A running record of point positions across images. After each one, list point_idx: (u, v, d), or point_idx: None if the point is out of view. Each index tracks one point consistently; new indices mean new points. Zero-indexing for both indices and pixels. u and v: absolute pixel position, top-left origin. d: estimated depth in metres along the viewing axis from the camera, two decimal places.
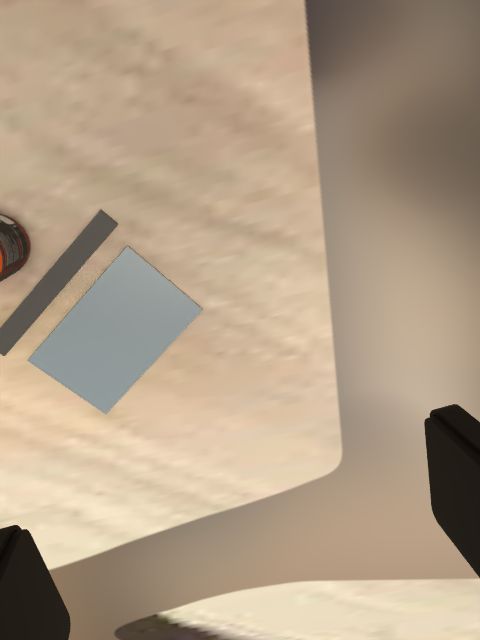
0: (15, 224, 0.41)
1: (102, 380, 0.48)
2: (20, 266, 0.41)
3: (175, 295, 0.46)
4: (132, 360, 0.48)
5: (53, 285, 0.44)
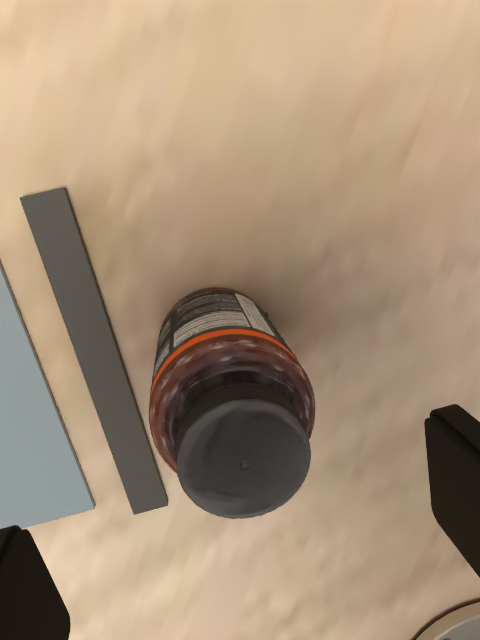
0: None
1: None
2: None
3: None
4: None
5: (100, 374, 0.23)
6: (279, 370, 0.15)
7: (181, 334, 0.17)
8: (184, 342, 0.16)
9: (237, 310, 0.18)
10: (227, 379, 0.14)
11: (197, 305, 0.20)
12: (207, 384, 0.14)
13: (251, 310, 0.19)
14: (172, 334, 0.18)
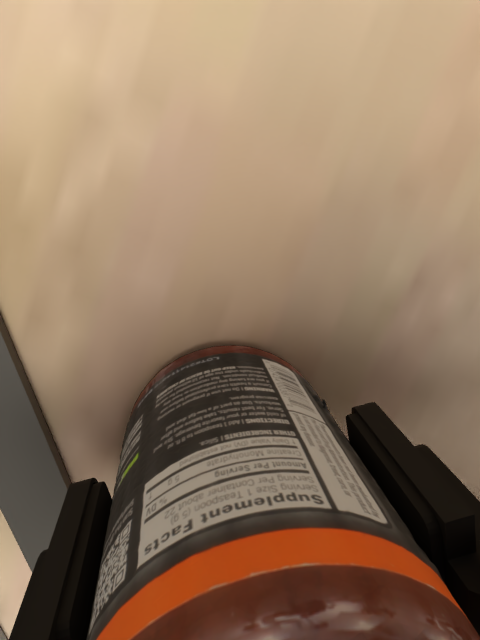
0: None
1: None
2: None
3: None
4: None
5: (24, 494, 0.13)
6: None
7: (159, 509, 0.07)
8: (163, 562, 0.06)
9: (282, 425, 0.08)
10: None
11: (195, 399, 0.10)
12: None
13: (305, 414, 0.09)
14: (141, 486, 0.08)
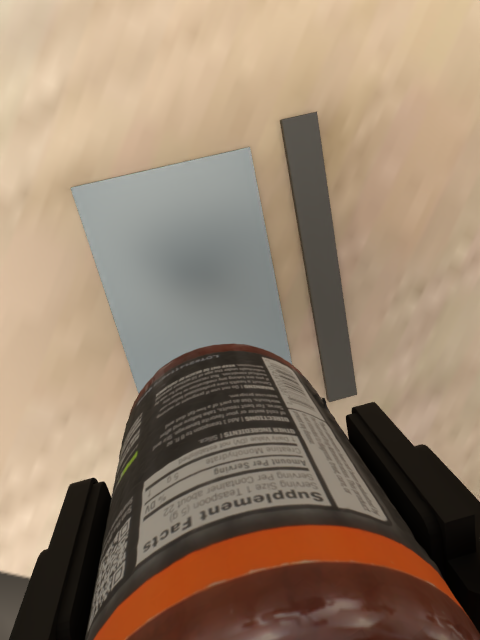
0: None
1: (137, 230, 0.25)
2: None
3: None
4: (140, 298, 0.26)
5: (321, 276, 0.27)
6: None
7: (158, 507, 0.07)
8: (161, 559, 0.06)
9: (281, 423, 0.08)
10: None
11: (194, 397, 0.10)
12: None
13: (305, 411, 0.09)
14: (140, 484, 0.08)
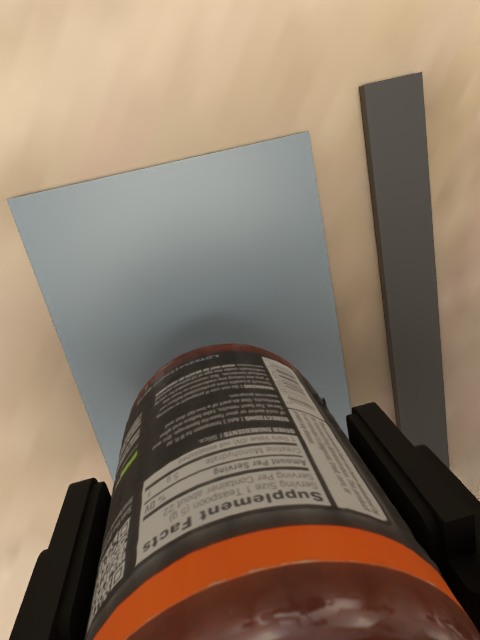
0: None
1: (122, 269, 0.15)
2: None
3: None
4: (127, 374, 0.16)
5: (411, 336, 0.17)
6: None
7: (157, 506, 0.07)
8: (161, 559, 0.06)
9: (281, 423, 0.08)
10: None
11: (194, 397, 0.10)
12: None
13: (305, 411, 0.09)
14: (139, 484, 0.08)
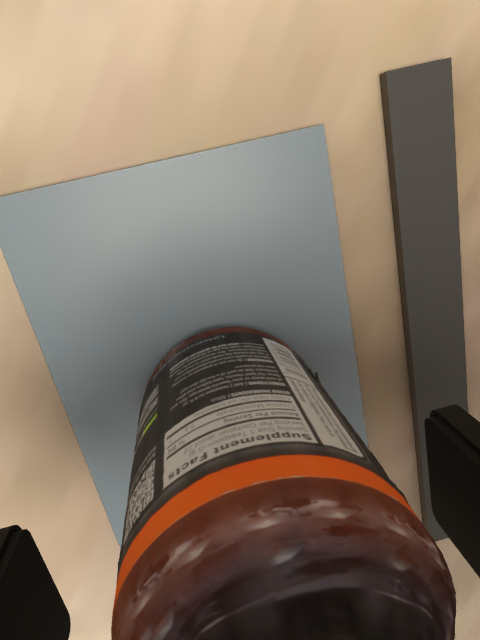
0: None
1: (113, 278, 0.14)
2: None
3: None
4: (120, 395, 0.15)
5: (433, 351, 0.16)
6: (401, 568, 0.06)
7: (178, 448, 0.09)
8: (184, 482, 0.08)
9: (279, 387, 0.10)
10: (291, 620, 0.06)
11: (204, 368, 0.11)
12: (243, 633, 0.06)
13: (299, 380, 0.11)
14: (161, 435, 0.10)
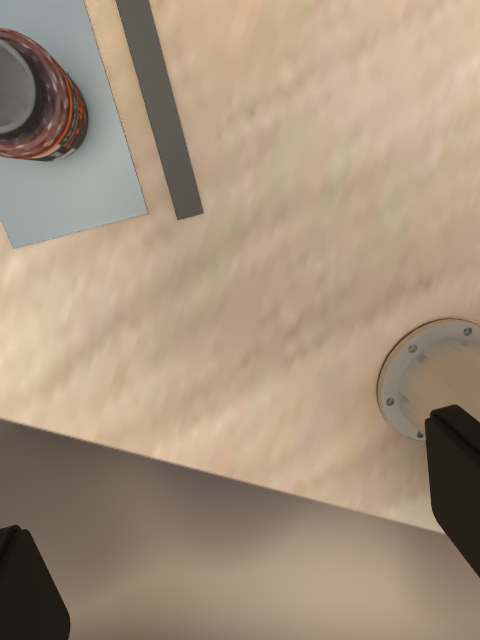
0: (52, 160, 0.30)
1: None
2: None
3: (52, 227, 0.32)
4: None
5: (153, 90, 0.30)
6: (26, 47, 0.21)
7: None
8: None
9: None
10: None
11: None
12: None
13: None
14: None
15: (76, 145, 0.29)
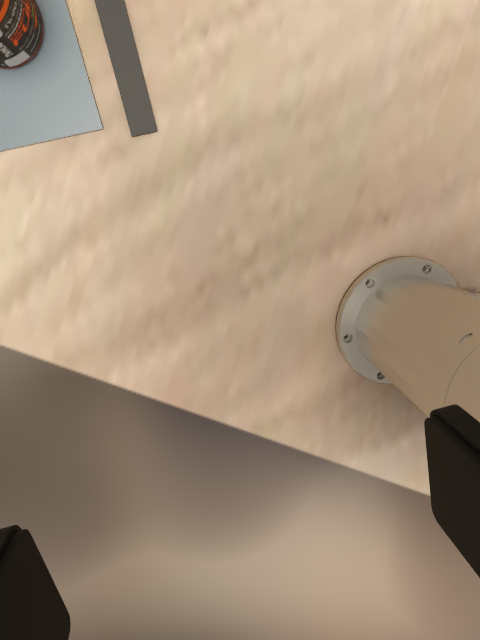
0: (7, 66, 0.31)
1: None
2: None
3: (10, 138, 0.34)
4: None
5: (107, 3, 0.32)
6: None
7: None
8: None
9: None
10: None
11: None
12: None
13: None
14: None
15: (28, 49, 0.30)
